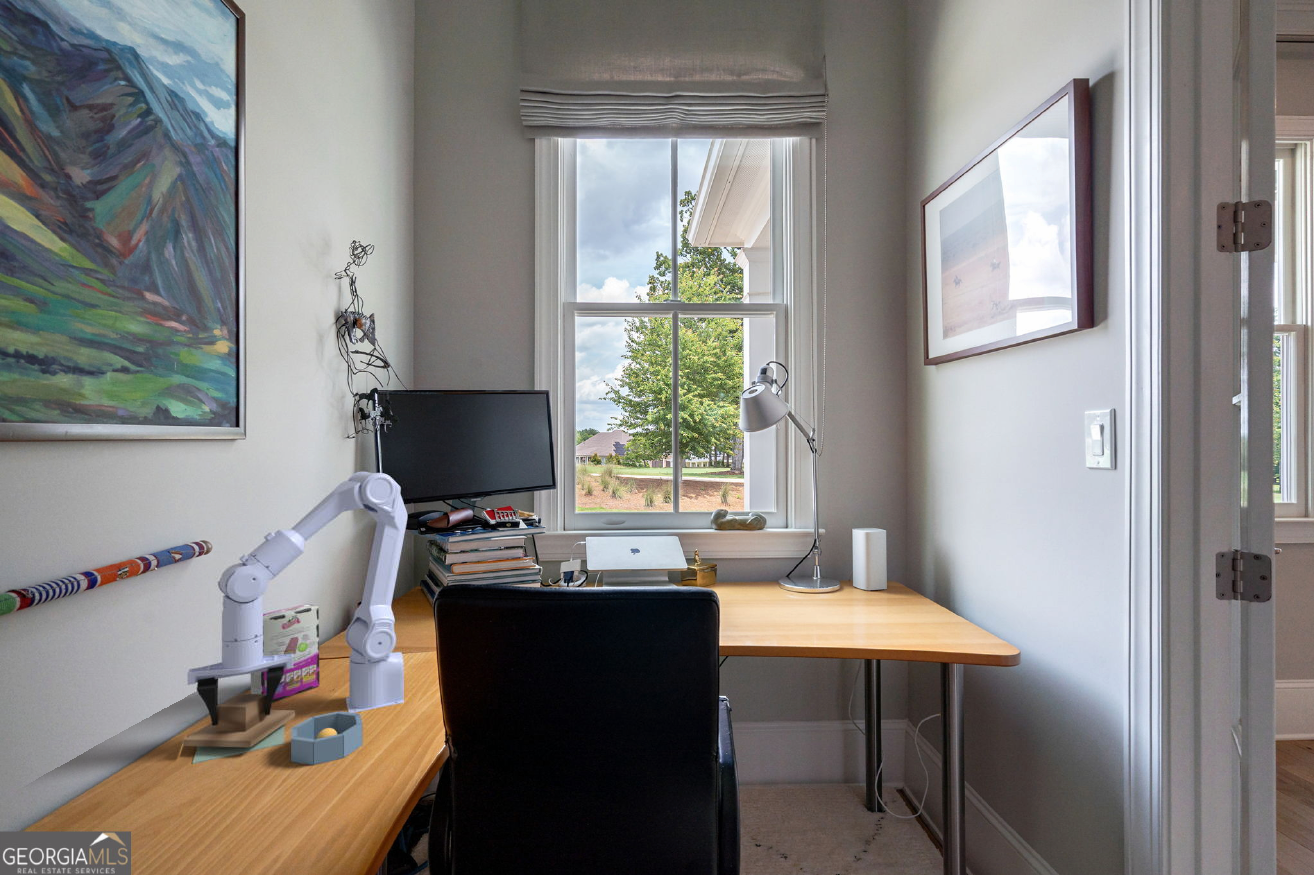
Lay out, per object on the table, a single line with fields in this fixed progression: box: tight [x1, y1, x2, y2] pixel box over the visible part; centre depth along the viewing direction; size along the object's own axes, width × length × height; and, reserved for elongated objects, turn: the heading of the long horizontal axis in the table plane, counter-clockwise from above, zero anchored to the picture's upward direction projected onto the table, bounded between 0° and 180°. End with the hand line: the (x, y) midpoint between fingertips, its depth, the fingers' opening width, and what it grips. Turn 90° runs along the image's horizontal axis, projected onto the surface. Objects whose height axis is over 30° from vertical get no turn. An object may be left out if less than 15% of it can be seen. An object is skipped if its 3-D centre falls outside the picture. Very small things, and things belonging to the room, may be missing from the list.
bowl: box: [290, 710, 363, 766], centre depth 99 cm, size 10×10×4 cm
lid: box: [182, 693, 296, 747], centre depth 102 cm, size 11×11×5 cm
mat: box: [192, 723, 285, 765], centre depth 102 cm, size 12×12×1 cm
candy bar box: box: [250, 603, 321, 703], centre depth 122 cm, size 11×5×16 cm, turn 148°
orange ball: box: [317, 728, 337, 739], centre depth 99 cm, size 3×3×3 cm
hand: (242, 718), depth 102 cm, fingers closed on lid, 6 cm apart
